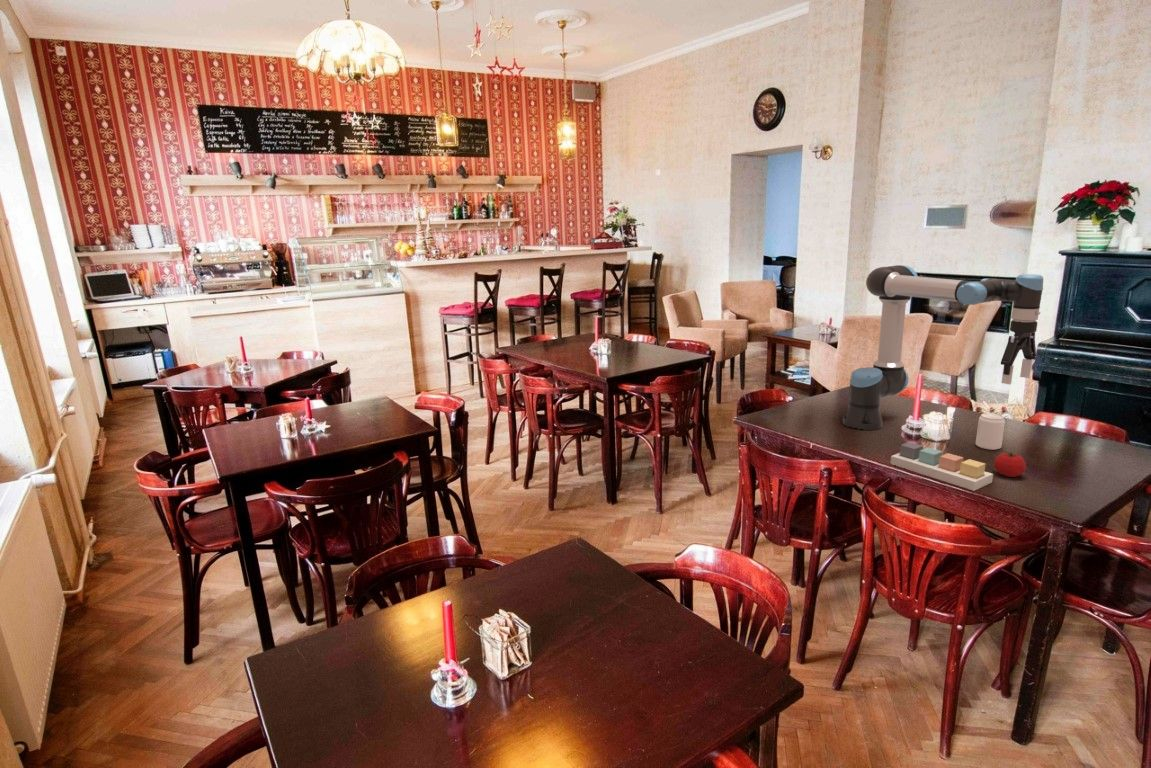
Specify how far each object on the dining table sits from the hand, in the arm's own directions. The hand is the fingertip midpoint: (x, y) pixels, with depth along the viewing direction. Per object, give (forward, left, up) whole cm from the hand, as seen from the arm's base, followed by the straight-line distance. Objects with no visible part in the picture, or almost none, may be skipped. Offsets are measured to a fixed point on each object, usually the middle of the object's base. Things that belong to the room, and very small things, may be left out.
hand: (1015, 380), depth 220 cm
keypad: (-4, -36, -27) cm, 45 cm away
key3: (0, -36, -25) cm, 44 cm away
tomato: (+10, -20, -27) cm, 35 cm away
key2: (-7, -36, -25) cm, 44 cm away
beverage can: (-7, +2, -27) cm, 28 cm away
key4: (+6, -36, -25) cm, 44 cm away
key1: (-14, -36, -25) cm, 46 cm away
